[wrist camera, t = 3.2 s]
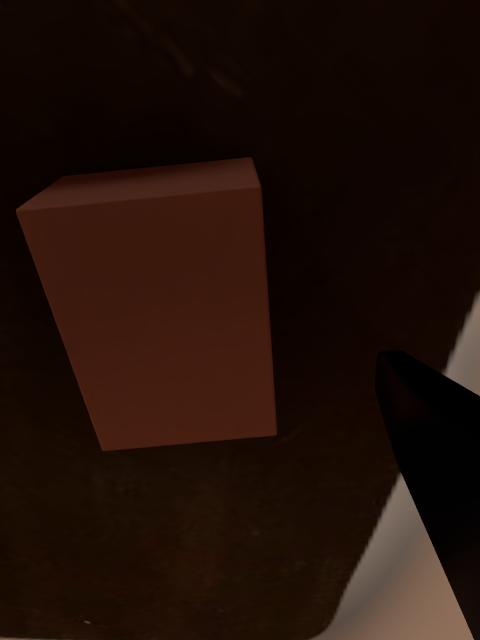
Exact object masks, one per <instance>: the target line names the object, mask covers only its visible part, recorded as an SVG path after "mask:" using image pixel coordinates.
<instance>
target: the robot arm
mask: <svg viewBox="0 0 480 640" xmlns="http://www.w3.org/2000/svg"><path fill="white" fill-rule="evenodd" d="M375 391H376V395H377V399H378V402H379V405H380V409H381V412H382V415H383V419H384V422H385V425H386V429H387V432H388V435H389V439H390V442H391V445H392V449H393V452H394V455H395V458H396V461H397V463H398V466H399V468H400V471H401V473H402V476H403V478H404V480H405V482H406V485H407V487H408V489H409V491H410V494H411V496H412V498H413V501H414V503H415V505H416V508H417V510H418V512H419V514H420V517H421V519H422V521H423V524H424V526H425V528H426V531H427V533H428V535H429V537H430V540H431V542H432V544H433V546H434V549H435V551H436V553H437V556H438V558H439V560H440V563H441V565H442V567H443V569H444V572H445V574H446V576H447V578H448V581H449V583H450V585H451V588H452V590H453V592H454V595H455V597H456V599H457V601H458V604H459V606H460V608H461V611H462V613H463V615H464V618H465V620H466V622H467V624H468V627H469V629H470V631H471V633H472V636H473V638H474V640H480V396H479V395H477V394H475V393H473V392H472V391H470V390H468V389H467V388H465V387H463V386H461V385H460V384H458V383H456V382H454V381H453V380H451V379H449V378H448V377H446V376H444V375H443V374H441V373H439V372H438V371H436V370H434V369H432V368H431V367H429V366H427V365H426V364H424V363H422V362H420V361H419V360H417V359H415V358H414V357H412V356H410V355H408V354H407V353H405V352H403V351H401V350H389V351H381V352H380V353H379V354H378V357H377V367H376V378H375Z"/></svg>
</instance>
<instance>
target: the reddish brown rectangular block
mask: <svg viewBox="0 0 480 640" xmlns="http://www.w3.org/2000/svg"><path fill="white" fill-rule="evenodd" d="M16 213H17V216H18V219H19V222H20V224H21V227H22V230H23V233H24V235H25V238H26V241H27V244H28V246H29V249H30V252H31V255H32V257H33V260H34V263H35V266H36V268H37V271H38V274H39V277H40V280H41V282H42V285H43V288H44V291H45V293H46V296H47V299H48V302H49V304H50V307H51V310H52V313H53V315H54V318H55V321H56V324H57V326H58V329H59V332H60V335H61V338H62V340H63V343H64V346H65V349H66V351H67V354H68V357H69V360H70V362H71V365H72V368H73V371H74V373H75V376H76V379H77V382H78V384H79V387H80V390H81V393H82V395H83V398H84V401H85V404H86V407H87V409H88V412H89V415H90V418H91V420H92V423H93V426H94V429H95V431H96V434H97V437H98V440H99V442H100V445H101V448H102V450H103V451H110V450H121V449H132V448H143V447H153V446H164V445H175V444H186V443H197V442H208V441H219V440H229V439H240V438H251V437H262V436H273V435H276V434H277V424H276V409H275V393H274V378H273V362H272V346H271V331H270V315H269V300H268V284H267V269H266V253H265V237H264V222H263V206H262V191H261V185H260V181H259V178H258V175H257V172H256V169H255V166H254V162H253V159H252V158H251V157H247V158H237V159H227V160H217V161H208V162H198V163H188V164H178V165H168V166H159V167H149V168H139V169H129V170H119V171H110V172H100V173H90V174H80V175H70V176H63V177H61V178H60V179H58V180H57V181H55V182H54V183H53V184H51V185H50V186H48V187H47V188H46V189H44V190H43V191H41V192H40V193H39V194H37V195H36V196H34V197H33V198H32V199H30V200H29V201H27V202H26V203H25V204H23V205H22V206H20V207H19V208H18V209H16Z"/></svg>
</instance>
